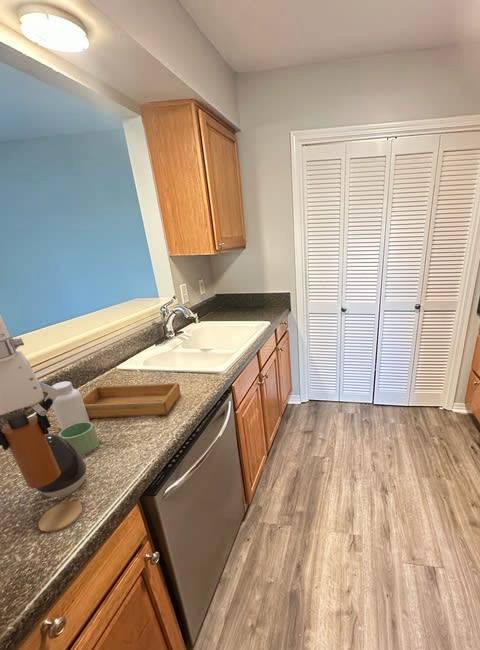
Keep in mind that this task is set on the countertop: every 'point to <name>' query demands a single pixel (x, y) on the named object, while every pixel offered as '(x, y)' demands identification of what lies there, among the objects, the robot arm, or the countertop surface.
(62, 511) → the coaster
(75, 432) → the cup
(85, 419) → the pill bottle
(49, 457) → the bottle
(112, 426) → the countertop surface
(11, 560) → the countertop surface
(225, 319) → the countertop surface
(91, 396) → the tray
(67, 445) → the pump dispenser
